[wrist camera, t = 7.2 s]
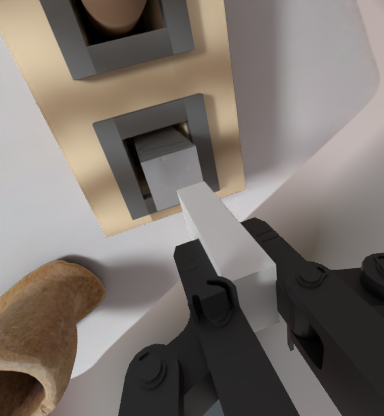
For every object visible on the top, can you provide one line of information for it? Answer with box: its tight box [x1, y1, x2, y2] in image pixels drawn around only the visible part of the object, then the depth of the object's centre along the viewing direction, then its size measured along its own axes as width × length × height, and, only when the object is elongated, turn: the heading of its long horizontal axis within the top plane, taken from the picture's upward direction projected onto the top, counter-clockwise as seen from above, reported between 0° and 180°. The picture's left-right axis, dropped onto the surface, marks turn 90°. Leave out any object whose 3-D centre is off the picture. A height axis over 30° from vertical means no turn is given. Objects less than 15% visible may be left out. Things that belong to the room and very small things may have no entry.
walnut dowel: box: [81, 0, 147, 41], centre depth 17 cm, size 4×4×9 cm
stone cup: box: [0, 260, 106, 416], centre depth 26 cm, size 15×12×15 cm
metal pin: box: [133, 125, 203, 211], centre depth 20 cm, size 4×4×9 cm
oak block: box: [0, 0, 246, 238], centre depth 20 cm, size 22×14×9 cm, turn 13°
